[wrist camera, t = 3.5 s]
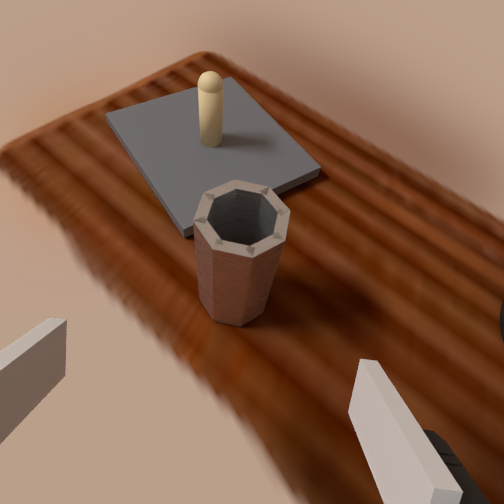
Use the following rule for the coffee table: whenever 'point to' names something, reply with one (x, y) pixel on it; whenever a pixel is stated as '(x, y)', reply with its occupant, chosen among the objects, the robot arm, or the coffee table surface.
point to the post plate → (203, 166)
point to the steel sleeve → (238, 249)
